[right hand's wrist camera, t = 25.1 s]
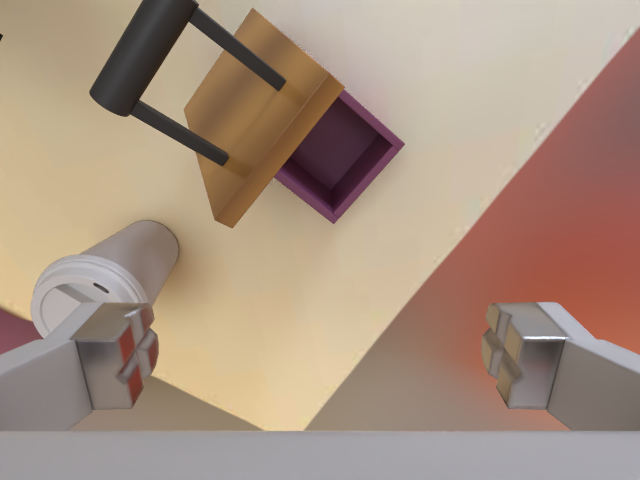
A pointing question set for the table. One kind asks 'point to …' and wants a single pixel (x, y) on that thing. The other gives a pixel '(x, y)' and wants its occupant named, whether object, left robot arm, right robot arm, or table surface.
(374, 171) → the chest
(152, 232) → the coffee cup
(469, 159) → the table surface
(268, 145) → the lid
